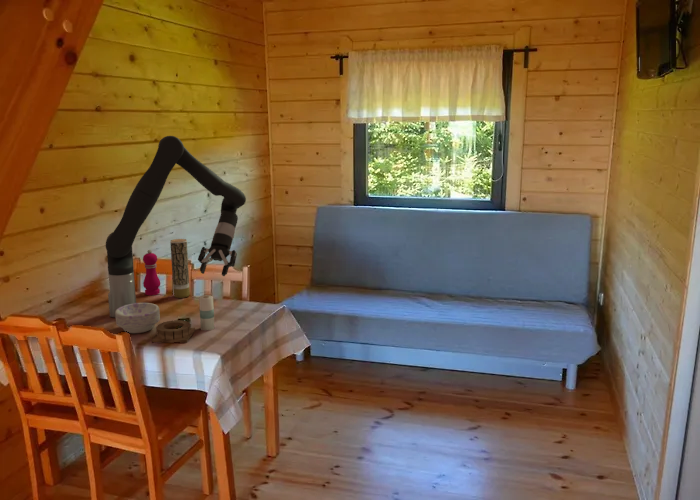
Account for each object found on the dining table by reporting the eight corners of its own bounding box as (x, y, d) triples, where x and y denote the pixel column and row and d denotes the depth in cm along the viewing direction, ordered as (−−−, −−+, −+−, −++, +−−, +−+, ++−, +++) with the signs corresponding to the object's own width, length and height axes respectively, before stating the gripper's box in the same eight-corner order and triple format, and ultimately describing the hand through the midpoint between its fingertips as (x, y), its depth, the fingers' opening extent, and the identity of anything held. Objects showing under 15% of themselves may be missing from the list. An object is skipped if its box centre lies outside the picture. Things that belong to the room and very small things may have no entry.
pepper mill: (140, 294, 255) (137, 250, 251) (151, 290, 262) (148, 247, 258) (153, 296, 253) (150, 252, 248) (164, 292, 259) (161, 248, 255)
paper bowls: (136, 339, 203) (135, 318, 202) (107, 331, 211) (105, 311, 209) (169, 326, 216) (168, 306, 215) (140, 319, 224) (139, 300, 222)
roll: (199, 330, 213) (197, 299, 210) (202, 325, 217) (200, 294, 215) (213, 330, 213) (211, 299, 210) (215, 325, 218) (214, 294, 215)
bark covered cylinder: (185, 299, 250) (182, 242, 244) (170, 297, 251) (167, 241, 246) (192, 294, 256) (189, 239, 251) (178, 293, 258) (175, 238, 252)
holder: (152, 342, 201) (151, 331, 200) (162, 330, 212) (161, 320, 211) (186, 342, 201) (186, 331, 200) (195, 330, 213) (194, 320, 212)
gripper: (203, 230, 225) (191, 268, 219) (237, 233, 223) (227, 272, 216) (209, 239, 232) (198, 276, 225) (243, 242, 229) (233, 280, 223)
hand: (212, 274), depth 221 cm, fingers open, 8 cm apart
